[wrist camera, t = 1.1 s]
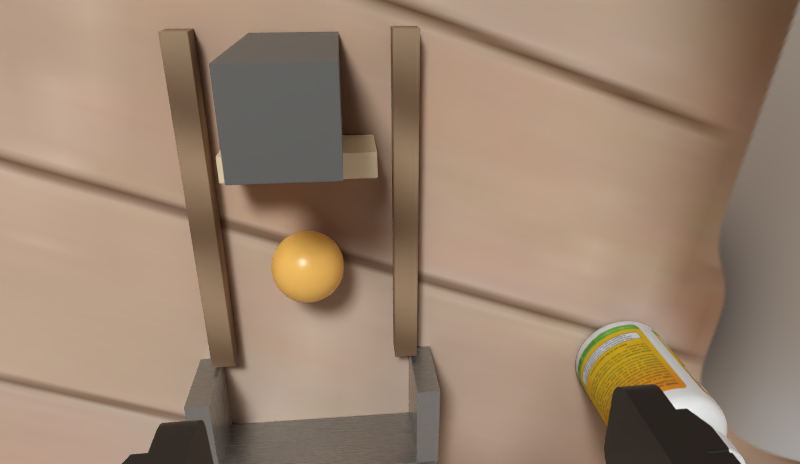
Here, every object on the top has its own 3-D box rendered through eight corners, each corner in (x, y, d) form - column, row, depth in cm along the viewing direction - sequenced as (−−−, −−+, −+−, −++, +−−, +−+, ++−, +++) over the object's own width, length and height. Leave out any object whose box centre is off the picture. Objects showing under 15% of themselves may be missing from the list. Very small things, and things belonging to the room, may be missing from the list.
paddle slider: (214, 33, 27) (159, 64, 18) (371, 31, 27) (385, 60, 19) (230, 162, 29) (188, 240, 21) (374, 158, 30) (387, 232, 22)
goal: (200, 359, 34) (184, 407, 30) (429, 346, 35) (440, 391, 31) (214, 441, 36) (200, 495, 33) (427, 426, 37) (437, 476, 34)
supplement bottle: (558, 380, 37) (627, 511, 28) (599, 307, 35) (688, 425, 26) (632, 399, 38) (721, 532, 29) (676, 331, 36) (785, 450, 27)
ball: (272, 220, 31) (264, 251, 27) (342, 218, 31) (342, 248, 28) (278, 282, 32) (271, 318, 29) (345, 279, 32) (345, 314, 29)
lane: (165, 29, 26) (158, 31, 25) (416, 25, 27) (419, 28, 26) (216, 354, 34) (212, 367, 33) (414, 343, 35) (416, 355, 33)
